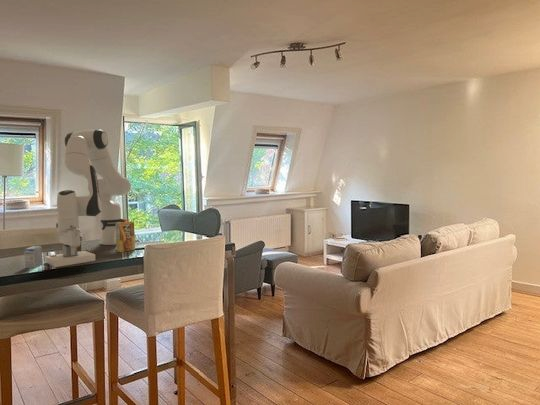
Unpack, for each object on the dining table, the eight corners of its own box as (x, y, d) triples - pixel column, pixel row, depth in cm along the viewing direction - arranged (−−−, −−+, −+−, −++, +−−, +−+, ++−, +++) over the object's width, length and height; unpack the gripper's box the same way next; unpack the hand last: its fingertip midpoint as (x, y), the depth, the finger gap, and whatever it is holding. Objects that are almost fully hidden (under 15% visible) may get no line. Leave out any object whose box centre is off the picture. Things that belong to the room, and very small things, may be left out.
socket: (85, 256, 214) (84, 249, 214) (95, 260, 204) (95, 253, 204) (45, 262, 202) (45, 255, 202) (55, 267, 192) (54, 259, 192)
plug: (74, 256, 206) (73, 243, 206) (77, 258, 203) (77, 245, 202) (63, 258, 203) (62, 245, 203) (66, 259, 199) (65, 246, 199)
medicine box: (33, 264, 199) (31, 246, 198) (43, 264, 199) (41, 245, 199) (24, 268, 191) (23, 249, 190) (35, 268, 191) (34, 248, 191)
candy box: (131, 248, 232) (129, 221, 231) (135, 249, 230) (134, 221, 229) (116, 251, 226) (114, 222, 224) (121, 252, 223) (119, 223, 222)
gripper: (83, 226, 196) (85, 255, 197) (68, 222, 211) (70, 250, 212) (68, 227, 192) (70, 257, 193) (54, 223, 207) (56, 252, 208)
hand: (70, 253), depth 203 cm, fingers closed on plug, 5 cm apart
